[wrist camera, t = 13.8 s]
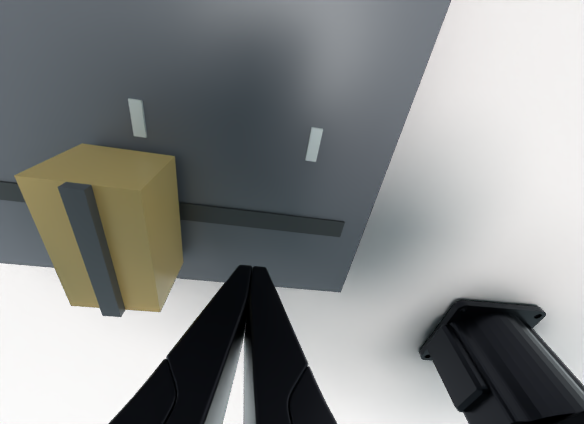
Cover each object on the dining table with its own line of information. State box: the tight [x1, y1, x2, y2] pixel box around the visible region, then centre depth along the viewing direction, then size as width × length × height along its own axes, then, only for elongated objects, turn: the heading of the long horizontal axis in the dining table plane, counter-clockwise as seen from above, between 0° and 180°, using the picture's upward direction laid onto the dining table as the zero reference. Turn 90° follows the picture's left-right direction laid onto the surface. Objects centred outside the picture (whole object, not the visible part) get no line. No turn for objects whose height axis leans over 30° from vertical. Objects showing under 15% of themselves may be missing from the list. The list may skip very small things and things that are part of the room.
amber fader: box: [14, 143, 183, 317], centre depth 9 cm, size 3×5×3 cm, turn 171°
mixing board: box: [0, 0, 451, 292], centre depth 8 cm, size 18×20×2 cm
